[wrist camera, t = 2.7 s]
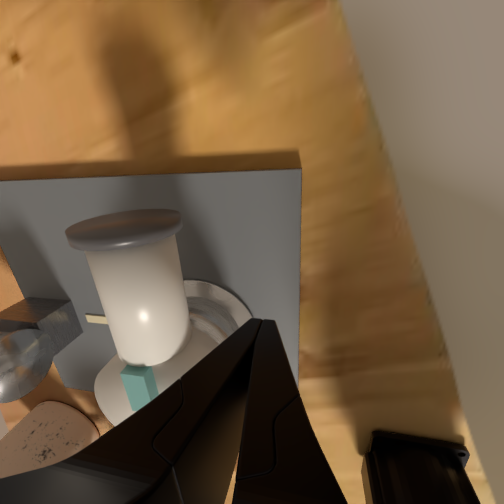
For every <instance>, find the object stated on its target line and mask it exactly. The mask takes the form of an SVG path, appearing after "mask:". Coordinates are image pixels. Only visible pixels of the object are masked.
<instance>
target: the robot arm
mask: <svg viewBox="0 0 504 504" xmlns="http://www.w3.org/2000/svg"><path fill="white" fill-rule="evenodd" d="M180 379H181V380H180ZM180 379H177V380H176V381H175V382H174V383H173V384H171V385H170V386H169V387H168V388H167V389H165V390H164V391H163V392H162V393H160V394H159V395H158V396H157V397H155V398H154V399H153V400H151V401H150V402H149V403H147V404H146V405H145V406H143V407H142V408H140V409H139V410H138V411H136V412H135V413H134V414H132V415H131V416H129V417H128V418H127V419H125V420H124V421H122V422H121V423H119V424H118V425H117V426H115V427H114V428H112V429H111V430H109V431H108V432H107V433H105V434H104V435H102V436H101V437H99V438H98V439H97V440H95V441H94V442H92V443H91V444H90V445H88V446H87V447H85V448H84V449H82V450H81V451H79V452H77V453H76V454H74V455H72V456H70V457H68V458H66V459H64V460H62V461H60V462H58V463H55V464H52V465H49V466H46V467H43V468H39V469H35V470H31V471H27V472H23V473H20V474H16V475H12V476H8V477H4V478H0V504H224V503H225V499H226V496H227V492H228V489H229V485H230V481H231V478H232V474H233V471H234V467H235V464H236V460H237V457H238V453H239V458H238V465H237V472H236V479H235V480H236V483H235V487H234V494H233V500H232V504H348V503H347V501H346V499H345V497H344V495H343V493H342V491H341V489H340V486H339V484H338V482H337V480H336V478H335V476H334V474H333V472H332V470H331V468H330V466H329V464H328V462H327V460H326V458H325V455H324V453H323V451H322V449H321V447H320V445H319V443H318V440H317V438H316V436H315V434H314V431H313V429H312V427H311V424H310V421H309V419H308V416H307V413H306V411H305V408H304V405H303V402H302V399H301V397H300V393H299V390H298V387H297V384H296V381H295V378H294V375H293V372H292V369H291V366H290V363H289V360H288V357H287V354H286V351H285V348H284V345H283V342H282V339H281V336H280V333H279V330H278V327H277V324H276V321H275V320H272V319H264V320H262V319H260V318H250V319H249V320H248V321H247V322H245V323H244V324H243V325H242V326H241V327H239V328H238V329H237V330H236V331H235V332H234V333H232V334H231V335H230V336H229V337H228V338H226V339H225V340H224V341H223V342H222V343H220V344H219V345H218V346H217V347H216V348H214V349H213V350H212V351H211V352H210V353H209V354H207V355H206V356H205V357H204V358H203V359H201V360H200V361H199V362H198V363H197V364H195V365H194V366H193V367H192V368H191V369H189V370H188V371H187V372H186V373H185V374H183V375H182V376H181V377H180ZM239 449H240V450H239ZM469 456H470V454H469V452H468V450H467V448H466V447H465V446H464V445H461V444H455V443H449V442H443V441H437V440H431V439H425V438H419V437H413V436H407V435H400V434H394V433H388V432H382V431H374V432H372V434H371V439H370V445H369V450H368V452H366V453H365V454H364V458H363V464H362V470H361V474H362V480H363V487H364V493H365V500H366V504H481V503H480V501H479V499H478V497H477V495H476V493H475V491H474V489H473V486H472V484H471V482H470V480H469V478H468V476H467V474H466V472H465V469H464V468H465V466H466V463H467V461H468V459H469Z"/></svg>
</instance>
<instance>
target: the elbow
mask: <svg viewBox="0 0 504 504" xmlns="http://www.w3.org/2000/svg"><path fill="white" fill-rule="evenodd" d="M182 227H183V224H182V218H181V213H180V212H178V211H176V210H171V209H139V210H130V211H123V212H116V213H111V214H106V215H101V216H97V217H93V218H90V219H87V220H83V221H81V222H78V223H76V224H73V225H71V226H70V227H68V228H67V229H66V230H65V234H66V237H67V240H68V243H69V245H70V247H71V248H73V249H76V250H81V251H84V252H85V255H86V258H87V261H88V264H89V267H90V270H91V273H92V276H93V279H94V282H95V285H96V288H97V291H98V294H99V297H100V300H101V304H102V307H103V310H104V313H105V316H106V319H107V322H108V325H109V328H110V331H111V334H112V337H113V340H114V343H115V346H116V349H117V354H116V355H115V356H114V357H113V358H112V359H111V360H110V361H109V362H108V363H107V364H106V365H105V366H104V368H103V369H102V370H101V371H100V372H99V373H98V375H97V377H96V379H95V384H94V392H95V397H96V400H97V403H98V405H99V407H100V409H101V410H102V412H103V414H104V415H105V416H106V418H107V419H108V420H109V421H110V422H111V423H112V424H113V425H114V426H117V425H118V424H119V423H121V422H122V421H124V420H125V419H127V418H128V417H129V416H131V415H132V414H134V413H135V412H136V411H138V410H139V409H140V408H142V407H143V406H145V405H146V404H147V403H149V402H150V401H151V400H153V399H154V398H155V397H157V396H158V395H159V394H160V393H162V392H163V391H164V390H165V389H167V388H168V387H169V386H170V385H171V384H173V383H174V382H175V381H176V380H177V379H180V377H181V376H182V375H183V374H185V373H186V372H187V371H188V370H189V369H191V368H192V367H193V366H194V365H195V364H197V363H198V362H199V361H200V360H201V359H203V358H204V357H205V356H206V355H207V354H209V353H210V352H211V351H212V350H213V349H214V348H216V347H217V346H218V345H219V344H218V343H217V342H216V341H215V340H214V339H212V338H211V337H210V336H209V335H207V334H206V333H204V332H202V331H201V330H199V329H197V328H195V327H193V326H191V321H190V316H189V310H188V305H187V299H186V293H185V288H184V282H183V277H182V271H181V265H180V260H179V254H178V249H177V243H176V237H175V233H177V232H178V231H180V230H181V229H182ZM180 380H181V379H180Z"/></svg>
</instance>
